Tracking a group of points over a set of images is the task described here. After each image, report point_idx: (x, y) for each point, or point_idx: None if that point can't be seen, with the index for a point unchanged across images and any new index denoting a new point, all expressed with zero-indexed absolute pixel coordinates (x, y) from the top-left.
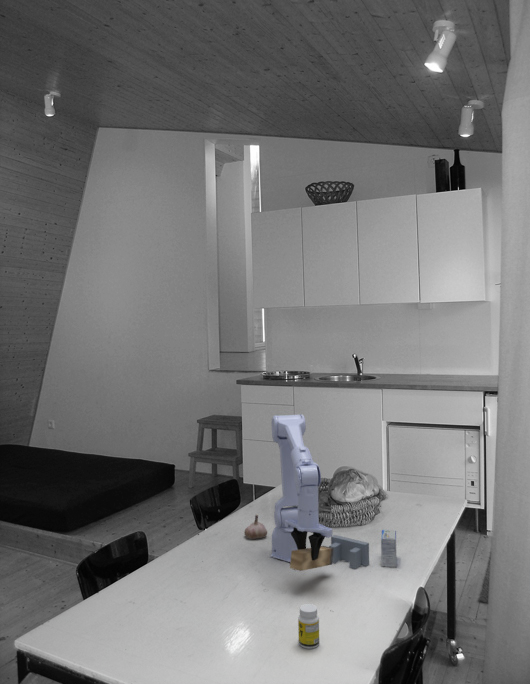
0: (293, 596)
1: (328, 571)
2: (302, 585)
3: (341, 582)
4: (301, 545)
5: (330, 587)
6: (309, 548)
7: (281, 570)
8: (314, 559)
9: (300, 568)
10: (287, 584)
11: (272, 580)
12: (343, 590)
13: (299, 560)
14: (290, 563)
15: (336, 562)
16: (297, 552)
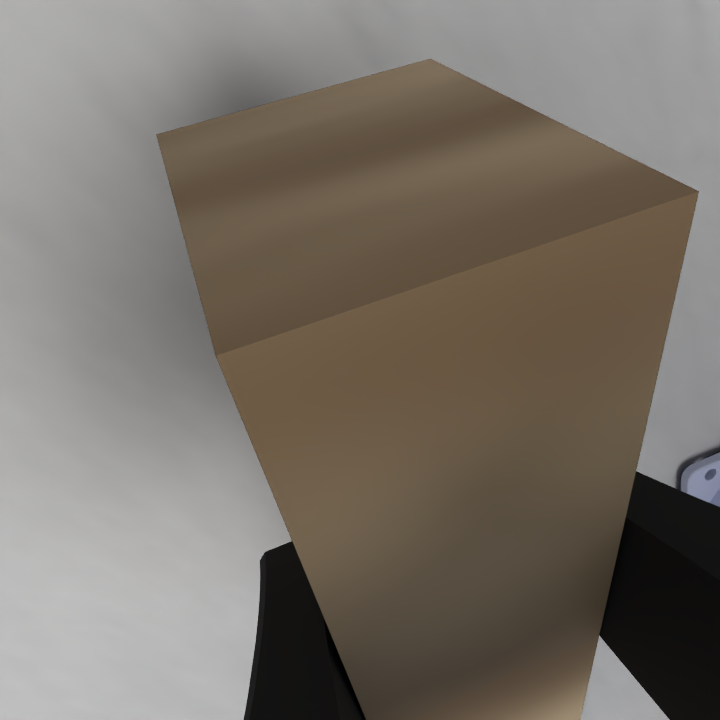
0: (208, 28)
1: None
2: None
3: (193, 605)
4: (687, 621)
5: (162, 488)
6: (567, 679)
7: (695, 323)
8: (266, 578)
9: (165, 147)
10: None
11: (642, 122)
12: (30, 553)
13: (253, 201)
14: (471, 82)
15: None
16: (446, 272)
